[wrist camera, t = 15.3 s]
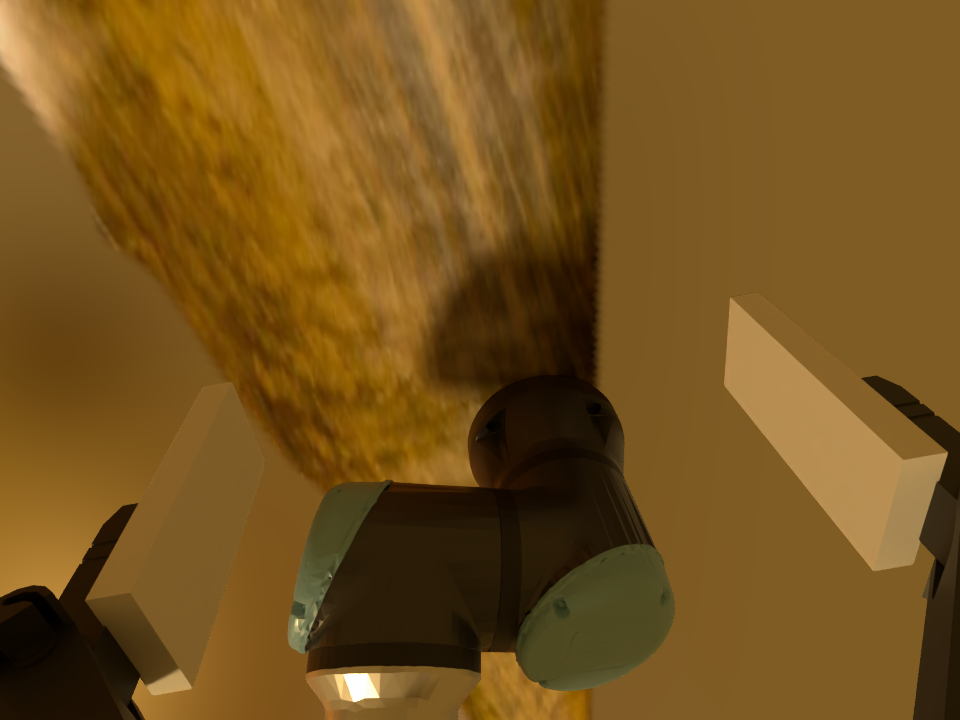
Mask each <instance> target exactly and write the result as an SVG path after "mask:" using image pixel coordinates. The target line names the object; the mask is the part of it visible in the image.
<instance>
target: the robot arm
mask: <svg viewBox="0 0 960 720" xmlns="http://www.w3.org/2000/svg"><path fill="white" fill-rule="evenodd" d="M724 385H725V387H726V388H727V389H728V391H729V392H730V393H731V394H732V396H733V397H734V398H735V399H736V400H737V402H738V403H739V404H740V405H741V407H742V408H743V409H744V410H745V412H746V413H747V414H748V415H749V417H750V418H751V419H752V420H753V422H754V423H755V424H756V425H757V427H758V428H759V429H760V430H761V432H762V433H763V434H764V435H765V437H766V438H767V439H768V440H769V441H770V443H771V444H772V445H773V446H774V448H775V449H776V450H777V451H778V453H779V454H780V455H781V457H782V458H783V459H784V460H785V462H786V463H787V464H788V465H789V466H790V468H792V470H793V471H794V473H795V474H796V475H797V476H798V478H799V479H800V480H801V481H802V482H803V484H804V485H805V486H806V488H807V489H808V490H809V491H810V493H811V494H812V495H813V496H814V498H815V499H816V500H817V501H818V502H819V504H820V505H821V506H822V508H823V509H824V510H825V511H826V513H827V514H828V515H829V516H830V517H831V519H832V520H833V521H834V523H835V524H836V525H837V526H838V527H839V529H840V530H841V531H842V532H843V534H844V535H845V536H846V537H847V539H848V540H849V541H850V542H851V544H852V545H853V546H854V547H855V549H856V550H857V551H858V552H859V554H860V555H861V556H862V557H863V559H864V560H865V561H866V562H867V563H868V565H869V566H870V567H871V569H872V570H873V571H878V570H883V569H889V568H895V567H901V566H907V565H912V564H913V563H914V560H915V557H916V553H917V550H918V547H919V544H920V542H921V543H922V544H923V545H924V546H925V547H926V548H927V549H928V550H929V551H930V552H931V553H932V554H933V555H934V557H935V560H934V563H933V566H932V569H931V572H930V575H929V578H928V581H927V584H926V587H925V590H924V593H923V596H922V597H923V598H926V599H928V601H927V609H926V617H925V625H924V633H923V642H922V650H921V658H920V666H919V674H918V682H917V691H916V699H915V707H914V715H913V720H960V433H959V432H958V431H957V430H955V429H954V428H953V427H952V426H950V425H949V424H948V423H947V422H945V421H944V420H943V419H942V418H940V417H939V416H935V415H934V412H933V411H932V410H930V409H929V408H928V407H927V406H925V405H924V404H920V402H919V400H918V399H916V398H915V397H914V396H913V395H911V394H910V393H909V392H908V391H906V390H905V389H904V388H902V387H901V386H899V385H896V384H894V383H892V382H890V381H887V380H885V379H883V378H880V377H878V376H871V377H865V378H860V377H858V376H857V375H856V374H855V373H854V372H852V370H850V369H849V368H848V367H847V366H845V365H844V364H843V363H842V362H841V361H840V360H839V359H837V358H836V357H835V356H834V355H833V354H831V353H830V352H829V351H828V350H827V349H826V348H824V347H823V346H822V345H821V344H820V343H818V342H817V341H816V340H815V339H814V338H813V337H811V336H810V335H809V334H808V333H807V332H806V331H804V330H803V329H802V328H801V327H800V326H798V325H797V324H796V323H795V322H794V321H793V320H791V319H790V318H789V317H788V316H786V315H785V314H784V313H783V312H782V311H781V310H780V309H778V308H777V307H776V306H775V305H774V304H772V303H771V302H770V301H769V300H768V299H767V298H765V297H764V296H763V295H762V294H761V293H759V292H757V293H751V294H746V295H740V296H734V297H730V308H729V322H728V337H727V350H726V365H725V378H724ZM468 452H469V461H470V466H471V470H472V473H473V476H474V478H475V480H476V482H477V484H478V485H479V487H465V486H445V485H428V484H413V483H398V482H394V481H392V480H385V481H383V482H347V483H342V484H339V485H337V486H335V487H333V488H332V489H331V490H330V491H329V492H328V493H327V494H326V495H325V496H324V498H323V500H322V501H321V503H320V505H319V508H318V509H317V512H316V514H315V517H314V520H313V522H312V525H311V529H310V531H309V535H308V538H307V541H306V545H305V548H304V552H303V556H302V559H301V563H300V567H299V571H298V575H297V580H296V584H295V590H294V595H293V596H294V602H293V605H292V610H291V614H290V618H289V624H288V643H289V645H290V646H291V647H292V649H295V650H297V651H298V652H299V653H306V652H307V651H309V655H308V664H307V672H306V682H307V683H308V684H309V686H310V687H311V688H312V690H313V691H314V692H315V694H316V695H317V696H318V697H319V698H320V700H321V701H322V703H323V705H324V708H325V710H326V715H325V720H458V710H459V708H460V706H461V704H462V702H463V701H464V700H465V699H466V697H467V696H468V695H469V694H470V692H471V691H472V690H473V689H474V688H475V686H476V685H477V684H478V683H479V682H480V680H481V652H505V653H506V652H512V653H515V655H516V661H517V662H518V665H519V666H521V668H522V670H523V672H524V674H525V675H526V676H527V677H528V678H529V679H530V680H531V681H533V682H538V683H539V684H540V686H542V687H544V688H547V689H552V690H559V691H575V690H583V689H588V688H593V687H597V686H600V685H603V684H606V683H608V682H611V681H613V680H616V679H618V678H620V677H622V676H624V675H626V674H628V673H629V672H630V671H631V670H633V669H634V668H636V667H638V666H640V665H641V664H643V663H644V662H645V661H646V660H648V659H649V658H650V657H651V655H653V654H654V653H655V652H656V651H657V649H658V648H659V647H660V646H661V644H662V643H663V642H664V640H665V638H666V637H667V635H668V633H669V631H670V629H671V626H672V623H673V619H674V614H675V601H674V596H673V593H672V589H671V587H670V583H669V581H668V577H667V574H666V571H665V567H664V561H663V558H662V556H661V555H660V553H659V552H658V551H657V549H656V548H655V545H654V543H653V541H652V539H651V536H650V534H649V532H648V530H647V527H646V525H645V523H644V521H643V519H642V516H641V514H640V512H639V510H638V507H637V505H636V503H635V501H634V499H633V496H632V494H631V492H630V490H629V487H628V485H627V483H626V481H625V479H624V476H623V468H624V467H623V466H624V434H623V430H622V426H621V423H620V421H619V419H618V416H617V414H616V412H615V410H614V408H613V406H612V405H611V403H610V402H609V400H608V399H607V398H606V397H605V396H604V395H603V394H602V393H601V392H600V391H599V390H597V389H596V388H595V387H593V386H591V385H590V384H588V383H585V382H583V381H580V380H578V379H574V378H570V377H564V376H541V377H534V378H530V379H526V380H523V381H520V382H517V383H515V384H512V385H510V386H508V387H506V388H505V389H503V390H501V391H500V392H498V393H497V394H496V395H494V396H493V397H492V398H491V399H490V400H488V401H487V402H486V403H485V405H484V406H483V407H482V408H481V409H480V411H479V412H478V414H477V415H476V417H475V419H474V421H473V423H472V425H471V428H470V432H469V437H468ZM265 464H266V462H265V460H264V458H263V455H262V453H261V451H260V448H259V445H258V443H257V441H256V438H255V436H254V433H253V431H252V429H251V426H250V424H249V422H248V419H247V417H246V414H245V412H244V409H243V407H242V405H241V402H240V400H239V397H238V395H237V393H236V390H235V388H234V385H233V383H232V382H228V383H222V384H216V385H210V386H204V387H202V389H201V391H200V393H199V395H198V397H197V398H196V400H195V402H194V404H193V405H192V407H191V409H190V411H189V413H188V414H187V416H186V418H185V420H184V422H183V424H182V425H181V427H180V429H179V431H178V433H177V435H176V436H175V438H174V440H173V442H172V443H171V445H170V447H169V449H168V451H167V453H166V454H165V456H164V458H163V460H162V462H161V463H160V465H159V467H158V469H157V471H156V473H155V474H154V476H153V478H152V480H151V482H150V483H149V485H148V487H147V489H146V491H145V493H144V494H143V496H142V498H141V500H140V502H139V503H136V504H131V505H125V506H122V507H121V508H120V509H119V510H118V511H117V512H116V513H115V514H114V515H113V516H112V517H111V518H110V519H109V520H108V521H106V522H105V523H104V524H103V526H102V528H101V529H100V531H99V533H98V534H97V536H96V538H95V539H94V541H93V543H92V548H89V549H88V551H87V553H86V554H85V556H84V558H83V559H82V564H79V566H78V568H77V569H76V571H75V573H74V574H73V576H72V578H71V579H70V581H69V583H68V584H67V586H66V588H65V589H64V591H63V593H62V595H61V596H60V598H59V600H58V599H57V598H56V597H55V595H54V594H53V593H52V592H51V591H50V590H49V589H48V588H47V587H45V586H35V585H33V586H29V587H24V588H20V589H17V590H15V591H13V592H11V593H9V594H7V595H4V596H2V597H0V720H145V719H144V717H143V715H142V714H141V712H140V710H139V708H138V706H137V705H136V704H135V703H134V701H133V700H132V695H133V693H134V690H135V688H136V685H137V683H138V680H139V678H141V680H142V681H143V683H144V684H145V685H146V687H147V688H148V690H149V691H150V692H151V693H152V695H159V694H164V693H170V692H176V691H182V690H187V689H193V686H194V683H195V680H196V677H197V674H198V671H199V667H200V664H201V661H202V658H203V655H204V652H205V649H206V646H207V643H208V640H209V637H210V633H211V630H212V628H213V624H214V621H215V618H216V615H217V612H218V609H219V606H220V603H221V600H222V597H223V594H224V591H225V587H226V584H227V581H228V578H229V575H230V572H231V569H232V566H233V563H234V560H235V557H236V553H237V550H238V547H239V544H240V541H241V538H242V535H243V532H244V529H245V526H246V523H247V520H248V517H249V513H250V510H251V507H252V504H253V501H254V498H255V495H256V492H257V489H258V486H259V482H260V479H261V476H262V473H263V470H264V467H265Z"/></svg>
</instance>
